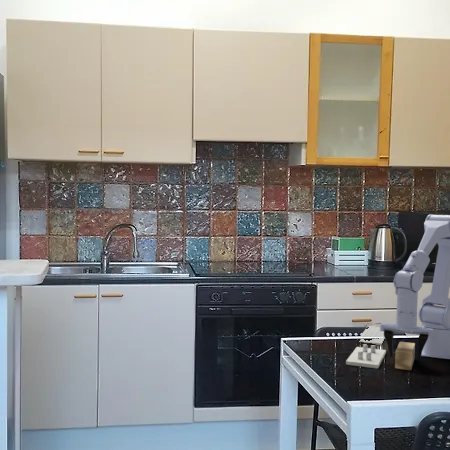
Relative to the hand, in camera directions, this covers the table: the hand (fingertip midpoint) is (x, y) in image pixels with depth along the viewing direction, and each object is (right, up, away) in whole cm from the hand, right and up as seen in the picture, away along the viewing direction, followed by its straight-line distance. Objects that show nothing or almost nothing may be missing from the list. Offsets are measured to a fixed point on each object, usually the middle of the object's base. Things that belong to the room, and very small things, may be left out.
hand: (405, 358), depth 166 cm
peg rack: (-10, -1, +4) cm, 11 cm away
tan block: (0, -2, 0) cm, 2 cm away
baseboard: (0, -2, +38) cm, 38 cm away
